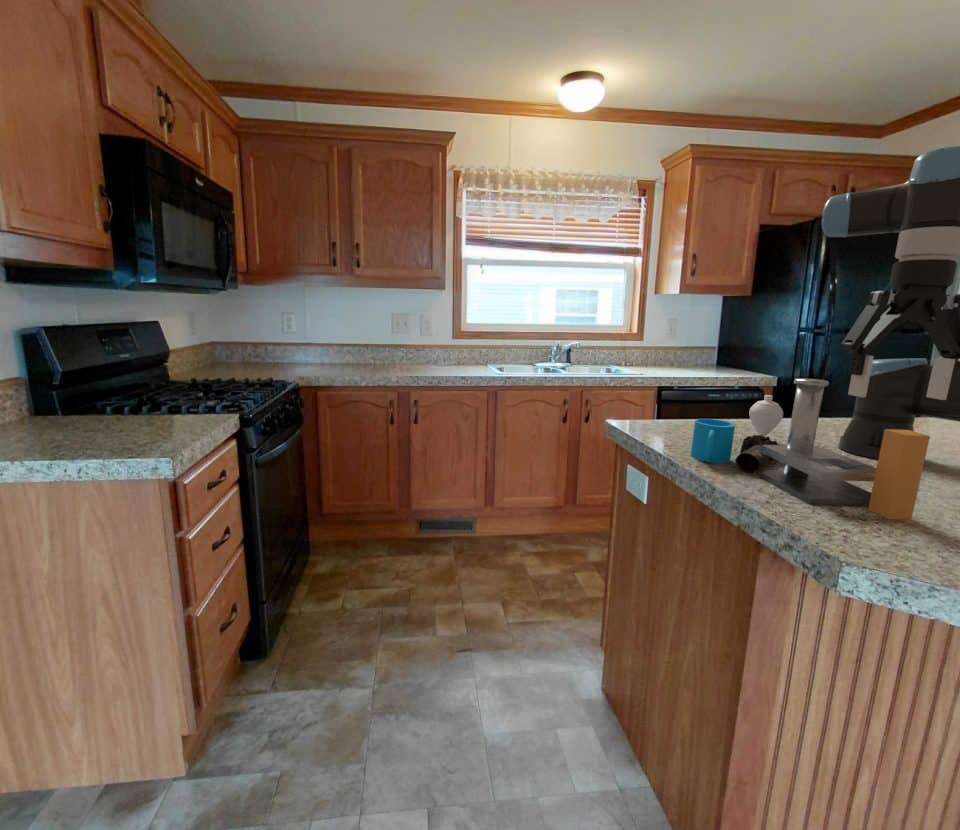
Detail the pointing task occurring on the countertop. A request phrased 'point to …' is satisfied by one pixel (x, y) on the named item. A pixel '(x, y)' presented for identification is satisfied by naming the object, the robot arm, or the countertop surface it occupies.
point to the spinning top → (765, 415)
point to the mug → (712, 440)
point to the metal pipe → (753, 453)
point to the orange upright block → (898, 473)
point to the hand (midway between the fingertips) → (896, 397)
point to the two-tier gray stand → (814, 457)
